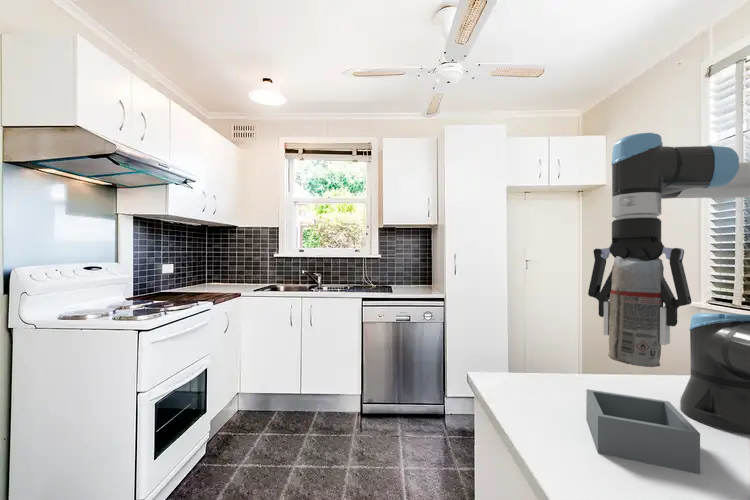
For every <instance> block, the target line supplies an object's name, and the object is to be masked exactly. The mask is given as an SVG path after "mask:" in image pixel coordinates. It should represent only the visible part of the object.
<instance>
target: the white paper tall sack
mask: <svg viewBox="0 0 750 500" xmlns="http://www.w3.org/2000/svg"><path fill="white" fill-rule="evenodd" d="M613 265H614V266H613ZM613 265H612V267H613V271H612V270H611V271H612V287H611V293H610V300H609V301H610V307H609V311H610V314H609V315H610V318H609V335H608V346H609V347H608V351H609V352H608V356H607V357H609V358H610V359H611V360H613V361H615V362H620V363H623V364H626V365H631V366H637V367H645V368H648V367H649V368H655V367H661V363H660V362H661V361H660V359H661V355H662V354H661V352H662V345H660V307H664V302H663V300H662V298H661V296H660V293H661V280H662V279H663V277H664V271H665V270H664V269H665V267H664V264H663V260H662V259H661V258H660V257H659V258H656V259H655V260H651V261H641V260H640V259H637V258H625V259H623V258H622V257H620V256H617V257H615V258H614V261H613ZM664 278H665V277H664Z"/></svg>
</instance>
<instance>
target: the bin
mask: <svg viewBox="0 0 750 500" xmlns="http://www.w3.org/2000/svg"><path fill="white" fill-rule="evenodd" d="M585 402H586V409H585V410H586V416H585V417H586V422H587V425H588V428H589V431H590V434H591V437H592V440H593V443H594V447H595V449H596V452H597V454H602V455H607V456H610V457H615V458H620V459H626V460H629V461H634V462H640V463H642V464H643V463H644V464H648V465H653V466H658V467H663V468H666V469H673V470H678V471H682V472H687V473H692V474H697V475H701V432H699V431H698V430H697V428H696V427H694V426H693V424H692V423H690V422H689V420H688V419H686V417H685V416H684V415H683V414H681V412H680V411H679V410H678V409H677V408H676V407H675V406H674V405H673V404H672V403H671V402H670V401H668V400H663V399H655V398H648V397H641V396H635V395H628V394H621V393H615V392H608V391H601V390H594V389H586V401H585Z"/></svg>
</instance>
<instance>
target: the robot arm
mask: <svg viewBox="0 0 750 500" xmlns="http://www.w3.org/2000/svg"><path fill="white" fill-rule="evenodd" d="M663 144H664V143H663V140H662V136H661V135H660V134H659V133H654V132H642V133H634V134H630V135H626V136H624V137H621V138H620V139H618V140H617V141H616V142H615V143H614V144H613V147H612V155H611V164H610V165H611V171H612V172H611V187H612V188H611V194H612V195H611V217H612V218H614V220H612V222H611V243H610V245H609V247H605V248H594V249H593V257H594V262H593V267H592V272H591V278H590V283H589V287H588V292H587V295H588V296H589V297H592V298H594V299H596V300H597V301H598V316H599V317H600V318H603V335H604V336H609V318H610V315H609V314H610V311H609V307H610V293H611V287H612V271H613V266H614V264H612V268H611V270H610V273H609V275H608V276H607V279H606V280H605V282H604V283H603V279H604V275H605V271H606V265H607V259H608V258H609V257H610V254H611V256H613V257H614V259H615V257H617V256H620V257H622V258H623V259H625V258H637V259H640V260H641V261H651V260H655V259H656V258H660V257H661V256H662V255H663V254H664V255H665V258H666V259H667V260H669V267H670V271H671V276H672V279H673V284H674V289H675V293H676V297H677V299H676V297H675V295H674V293H673V291H672V290H671V288H670V286H669V283H668V282H667V281H666V278H665V277H663V279H662V280H661V293H660V296H661V298H662V300H663V304H664V306H663V307H660V345H661V346H667V345H670V344H671V327H676V326H677V324H678V309H679V308H680V307H682V306H688V305H690V304H692V297H691V293H690V290H689V289H690V288H689V286H688V285H689V283H688V280H687V277H686V272H685V269H684V268H685V267H684V264H683V259H684V255H685V249H683V248H679V247H674V248H672V247H666V246H665V245H664V244H663V242H662V220H661V219H660V218H658V217H659V216H661V215H662V199H663V200H664V199H665V200H666V199H694V198H695V199H704V198H705V199H711V198H712V199H719V198H724V199H727V198H729V199H731V198H734V199H735V198H737V199H738V198H740V199H741V198H750V161H748V162H747V161H746V162H740V158H739V157H740V156H739V155H738V153H737V151H736V150H734V149H733V148H731V147H729V146H721V145H720V146H719V145H718V146H716V145H715V146H714V145H709V144H708V145H707V146H706V145H705V146H704V145H703V146H700V145H699V146H696V145H695V146H665V145H663ZM602 284H603V286H602ZM688 330H689V343H690V345H689V346H690V347H689V349H690V351H689V352H690V376H689V379H688V382H687V384H686V386H685V388H684V391H683V392H682V395H681V396H680V402H679V405H680V407H679V409H680V411H681V412H682V413H683V414H684V415H686V416H687V417H689V418H691V419H693V420H695V421H697V422H700V423H702V424H704V425H707V426H711V427H712V428H713V427H714V428H717V429H721V430H723V431H728V432H732V433H735V434H740V435H747V436H750V314H744V313H743V314H741V313H740V314H739V313H711V312H709V313H708V312H707V313H706V312H698V313H695V314H693V315H692V316H691V318H690V327H689V329H688Z"/></svg>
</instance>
